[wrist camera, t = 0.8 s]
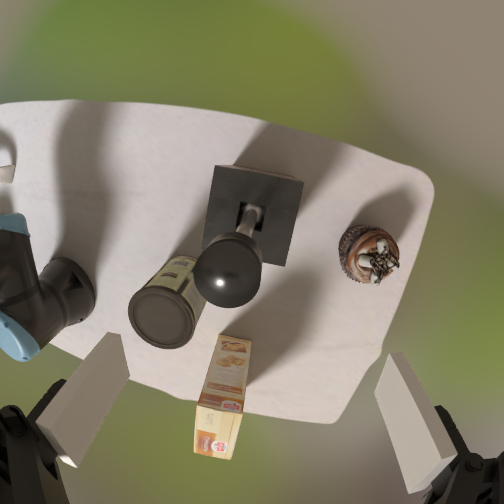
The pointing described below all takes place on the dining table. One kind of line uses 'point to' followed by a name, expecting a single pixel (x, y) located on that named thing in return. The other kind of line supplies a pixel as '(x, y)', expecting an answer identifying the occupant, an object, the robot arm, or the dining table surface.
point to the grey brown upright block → (255, 192)
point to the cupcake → (368, 254)
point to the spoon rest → (7, 173)
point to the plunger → (232, 262)
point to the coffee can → (168, 305)
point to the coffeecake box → (222, 398)
